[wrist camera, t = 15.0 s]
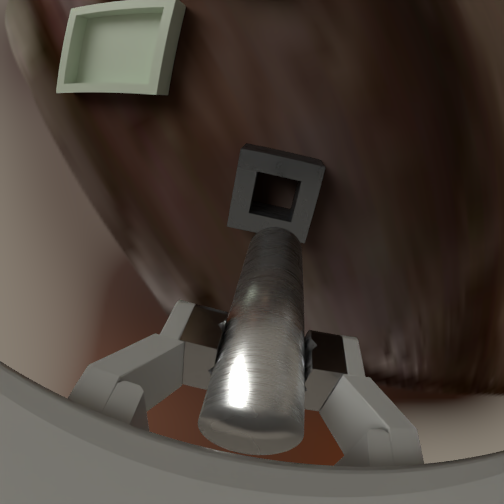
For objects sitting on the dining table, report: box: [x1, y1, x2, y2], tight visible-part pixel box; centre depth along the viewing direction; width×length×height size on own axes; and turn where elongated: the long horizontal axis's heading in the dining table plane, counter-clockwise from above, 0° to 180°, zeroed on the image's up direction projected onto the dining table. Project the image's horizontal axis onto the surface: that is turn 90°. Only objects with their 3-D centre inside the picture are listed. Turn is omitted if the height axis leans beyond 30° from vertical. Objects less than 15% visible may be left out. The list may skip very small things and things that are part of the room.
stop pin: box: [198, 227, 305, 455], centre depth 10 cm, size 2×2×9 cm
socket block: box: [227, 143, 326, 243], centre depth 24 cm, size 6×6×3 cm
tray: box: [56, 0, 186, 95], centre depth 19 cm, size 10×8×2 cm
